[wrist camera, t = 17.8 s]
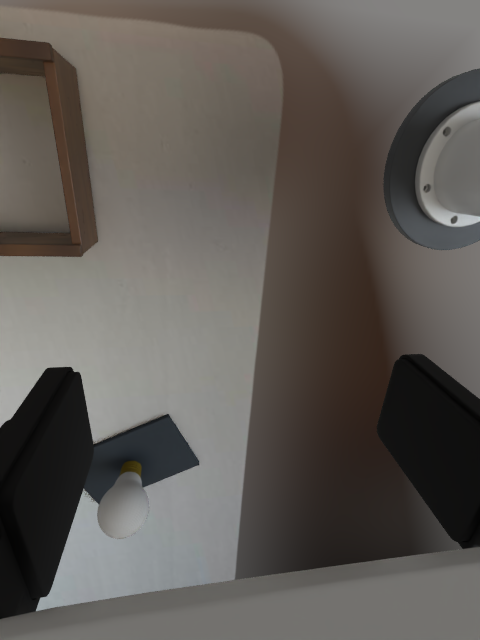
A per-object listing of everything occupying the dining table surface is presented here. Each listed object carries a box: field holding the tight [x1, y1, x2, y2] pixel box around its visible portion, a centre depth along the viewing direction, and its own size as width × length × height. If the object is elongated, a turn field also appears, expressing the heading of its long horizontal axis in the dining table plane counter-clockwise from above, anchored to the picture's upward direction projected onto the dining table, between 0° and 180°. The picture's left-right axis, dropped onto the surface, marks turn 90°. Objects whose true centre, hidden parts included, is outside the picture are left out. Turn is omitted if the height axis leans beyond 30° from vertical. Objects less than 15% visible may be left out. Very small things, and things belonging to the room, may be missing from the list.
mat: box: [84, 415, 199, 504], centre depth 47 cm, size 16×10×1 cm, turn 111°
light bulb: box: [97, 461, 149, 539], centre depth 42 cm, size 6×6×10 cm
